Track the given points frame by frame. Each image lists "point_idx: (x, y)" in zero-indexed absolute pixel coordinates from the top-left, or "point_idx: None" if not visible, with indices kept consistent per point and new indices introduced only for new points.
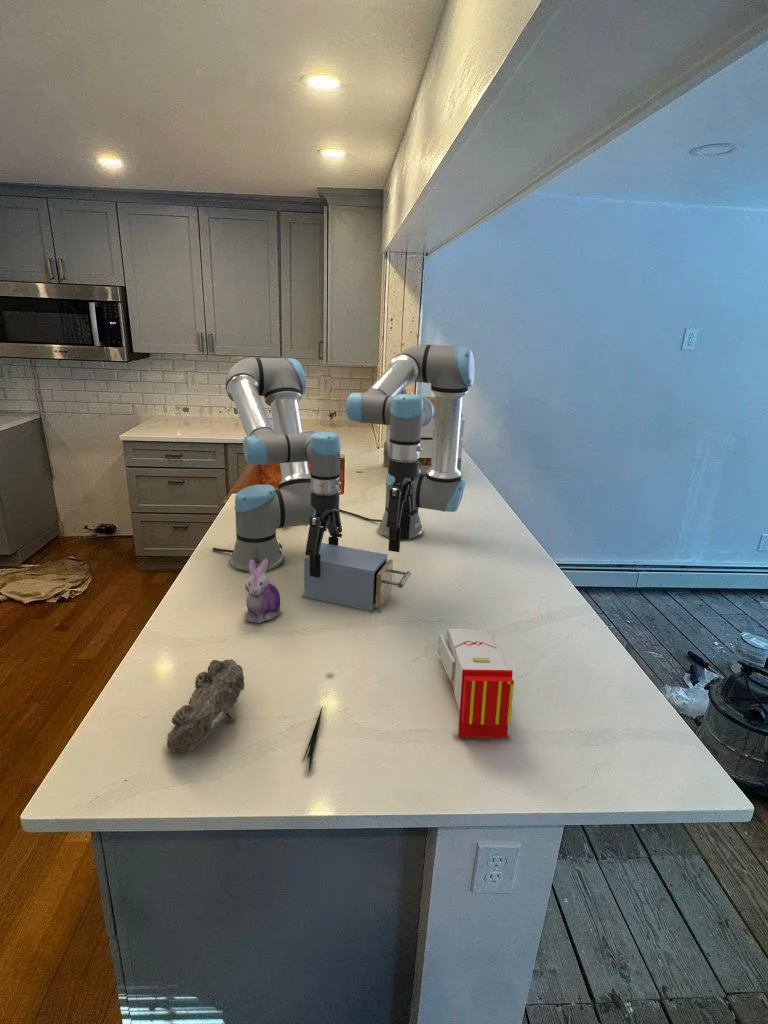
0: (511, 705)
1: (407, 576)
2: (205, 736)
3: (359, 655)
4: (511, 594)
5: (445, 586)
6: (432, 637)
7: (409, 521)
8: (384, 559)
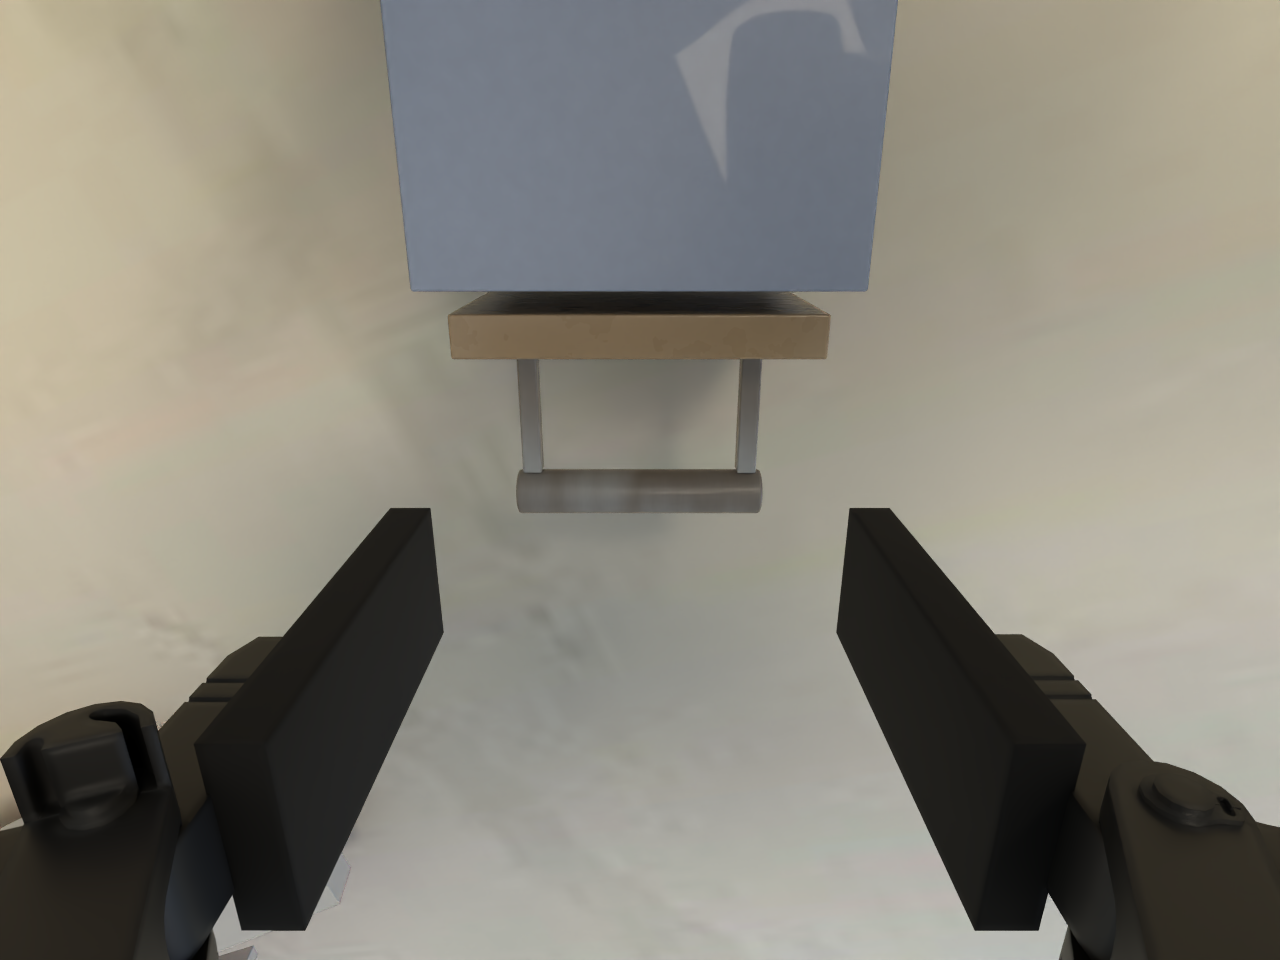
0: None
1: (671, 511)
2: None
3: (22, 366)
4: None
5: (981, 591)
6: None
7: (936, 845)
8: (757, 290)
